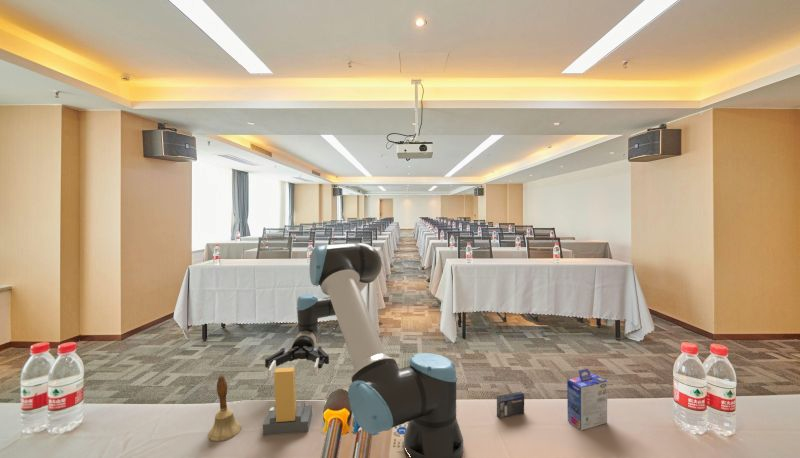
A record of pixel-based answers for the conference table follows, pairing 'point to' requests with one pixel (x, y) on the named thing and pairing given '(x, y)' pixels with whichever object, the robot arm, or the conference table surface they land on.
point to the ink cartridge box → (587, 400)
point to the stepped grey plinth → (288, 426)
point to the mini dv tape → (510, 404)
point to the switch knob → (285, 394)
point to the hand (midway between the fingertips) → (292, 372)
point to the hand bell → (223, 417)
